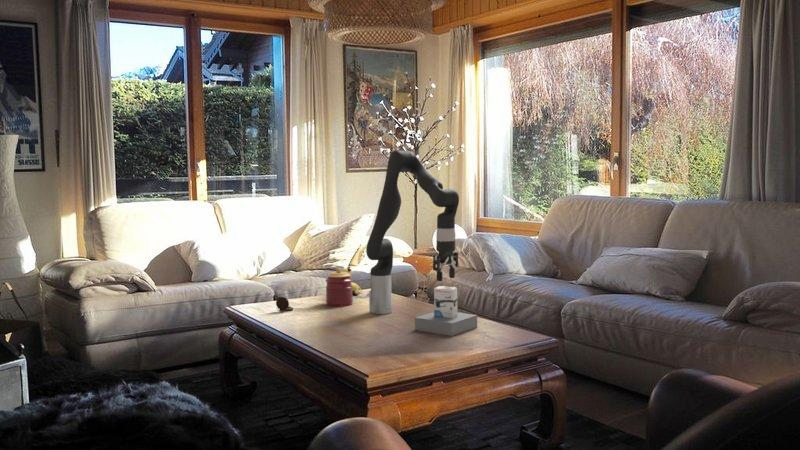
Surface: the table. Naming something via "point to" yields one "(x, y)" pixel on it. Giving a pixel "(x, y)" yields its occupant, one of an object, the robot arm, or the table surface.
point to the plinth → (446, 323)
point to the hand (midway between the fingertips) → (445, 279)
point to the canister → (339, 288)
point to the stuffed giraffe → (355, 286)
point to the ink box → (445, 302)
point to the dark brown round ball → (283, 304)
